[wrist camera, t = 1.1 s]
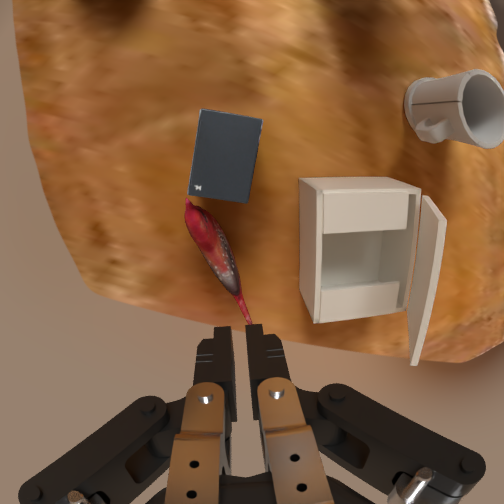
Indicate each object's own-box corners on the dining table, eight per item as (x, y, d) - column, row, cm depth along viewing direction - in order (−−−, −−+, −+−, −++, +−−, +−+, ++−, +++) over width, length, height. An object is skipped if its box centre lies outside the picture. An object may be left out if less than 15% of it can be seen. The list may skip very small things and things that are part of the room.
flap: (406, 311, 35) (410, 365, 27) (422, 195, 30) (438, 220, 22) (413, 312, 35) (417, 365, 26) (429, 195, 30) (448, 221, 21)
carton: (299, 289, 44) (314, 325, 35) (298, 177, 38) (317, 191, 30) (379, 281, 44) (407, 312, 36) (387, 176, 39) (423, 189, 31)
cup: (440, 161, 39) (497, 175, 27) (390, 135, 37) (444, 140, 26) (457, 96, 35) (515, 95, 24) (409, 66, 34) (463, 52, 22)
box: (243, 186, 38) (248, 206, 29) (196, 179, 38) (184, 196, 28) (255, 122, 36) (264, 118, 26) (207, 114, 35) (198, 107, 25)
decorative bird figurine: (205, 180, 38) (197, 195, 28) (260, 301, 44) (268, 345, 35) (183, 189, 38) (168, 208, 29) (240, 308, 44) (243, 354, 35)
